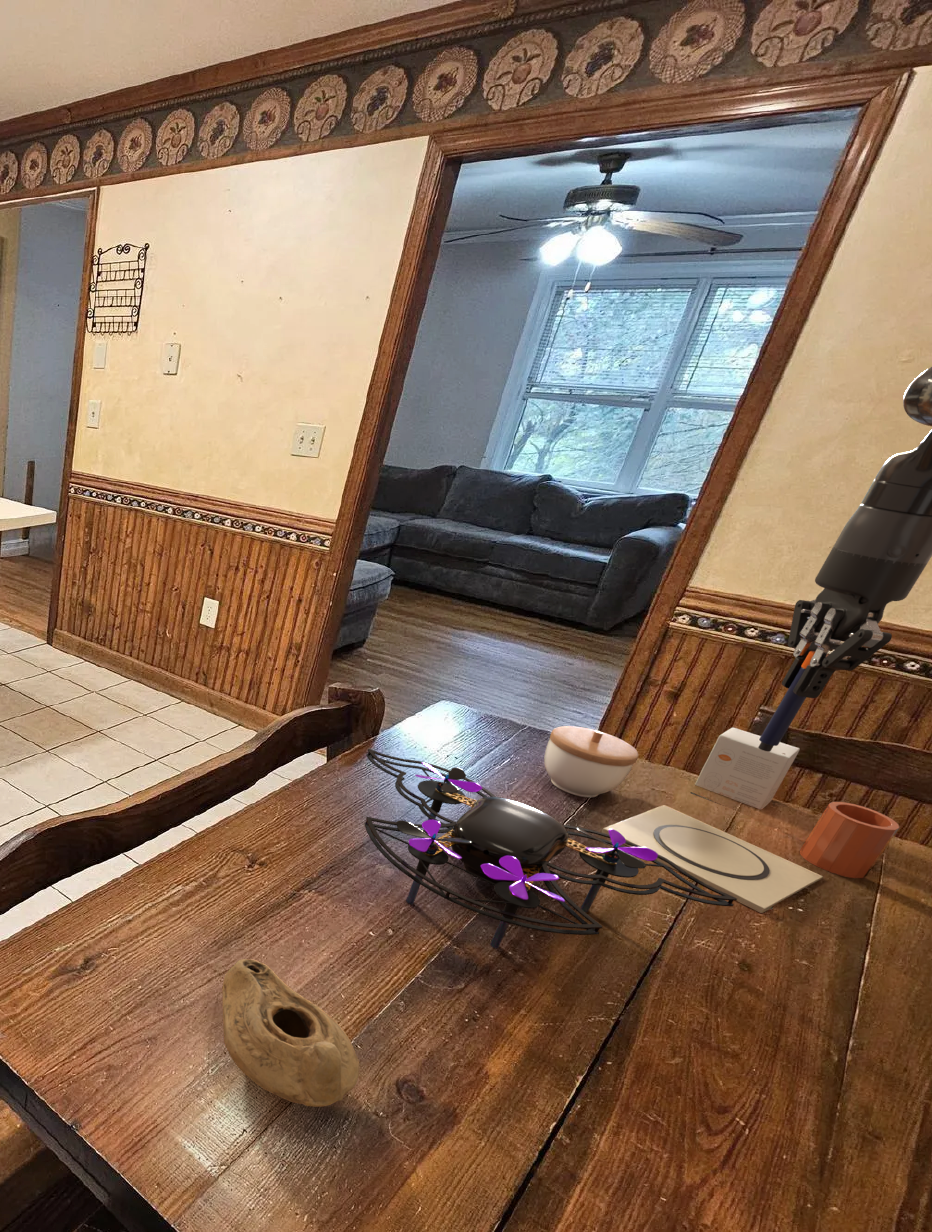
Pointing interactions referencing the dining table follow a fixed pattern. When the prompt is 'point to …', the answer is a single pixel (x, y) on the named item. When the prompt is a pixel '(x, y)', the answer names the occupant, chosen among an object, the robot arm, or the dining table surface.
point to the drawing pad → (716, 857)
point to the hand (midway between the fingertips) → (798, 691)
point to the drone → (514, 852)
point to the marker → (784, 712)
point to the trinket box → (587, 760)
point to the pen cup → (848, 839)
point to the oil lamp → (285, 1038)
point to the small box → (745, 768)
